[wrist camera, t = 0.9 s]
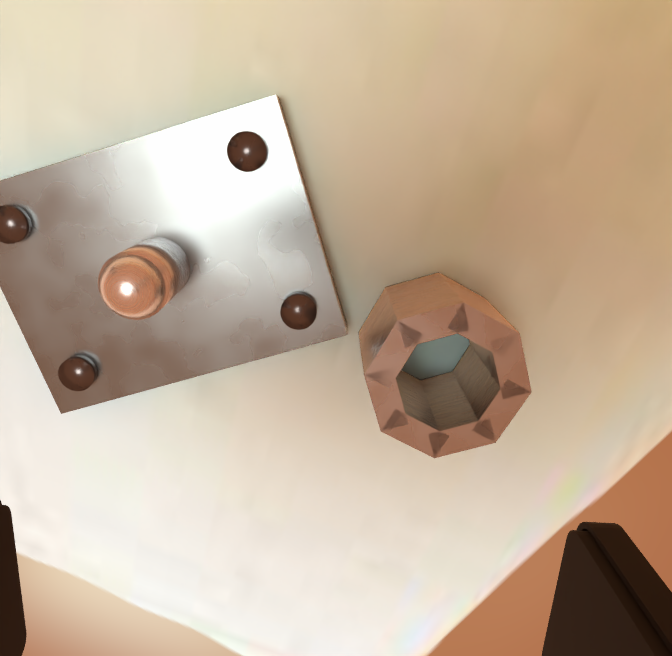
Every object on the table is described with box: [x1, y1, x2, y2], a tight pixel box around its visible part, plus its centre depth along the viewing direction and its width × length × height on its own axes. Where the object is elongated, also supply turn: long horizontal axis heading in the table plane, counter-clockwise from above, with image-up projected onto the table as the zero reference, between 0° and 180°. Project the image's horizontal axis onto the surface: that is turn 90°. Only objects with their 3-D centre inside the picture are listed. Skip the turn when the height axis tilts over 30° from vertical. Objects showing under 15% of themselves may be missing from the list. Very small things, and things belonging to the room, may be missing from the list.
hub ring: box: [358, 272, 531, 458], centre depth 29 cm, size 7×7×6 cm
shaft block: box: [0, 95, 347, 414], centre depth 27 cm, size 16×12×7 cm
